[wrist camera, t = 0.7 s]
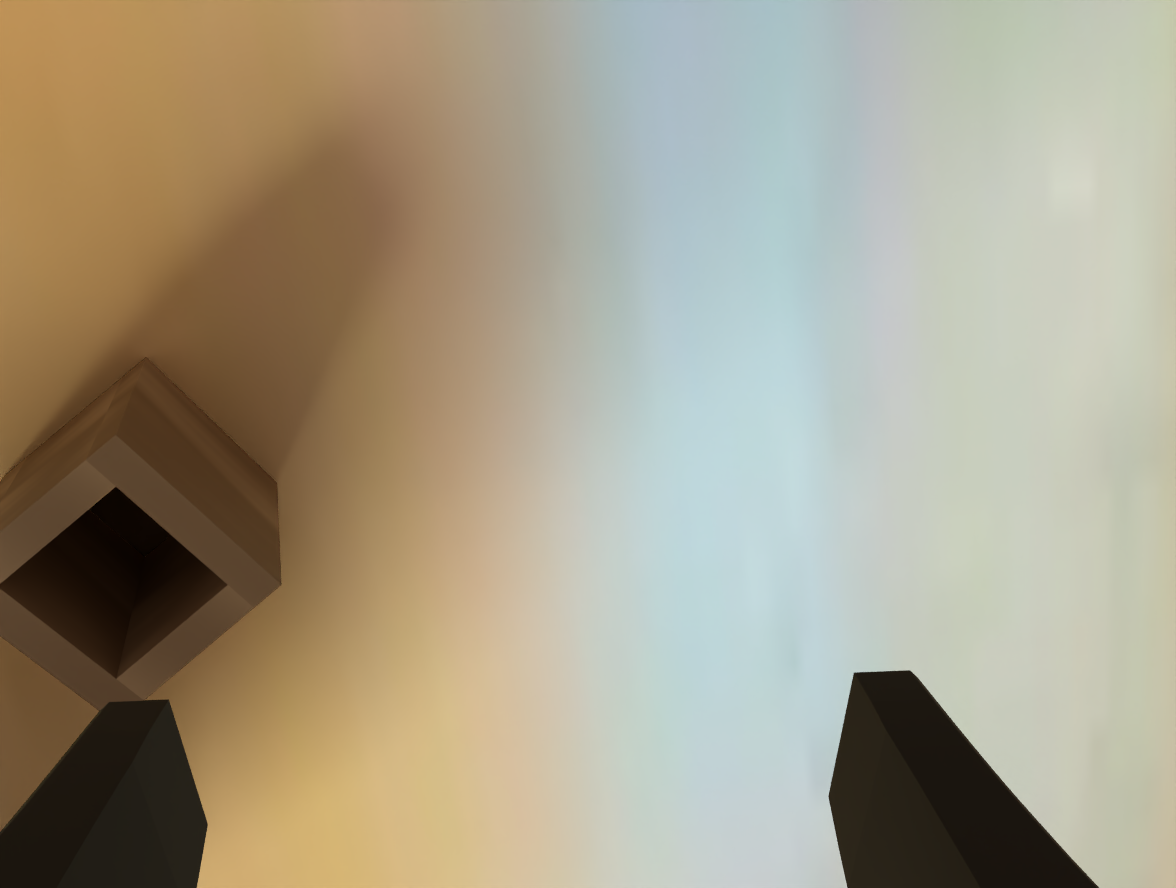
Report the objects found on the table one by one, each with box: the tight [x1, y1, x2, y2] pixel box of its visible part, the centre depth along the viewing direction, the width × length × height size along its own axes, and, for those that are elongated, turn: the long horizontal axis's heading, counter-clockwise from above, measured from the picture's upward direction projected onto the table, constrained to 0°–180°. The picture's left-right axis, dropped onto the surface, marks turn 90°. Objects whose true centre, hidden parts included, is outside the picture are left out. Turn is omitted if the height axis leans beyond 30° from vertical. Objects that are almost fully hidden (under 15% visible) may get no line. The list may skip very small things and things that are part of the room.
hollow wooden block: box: [0, 358, 281, 711], centre depth 24 cm, size 4×4×6 cm
